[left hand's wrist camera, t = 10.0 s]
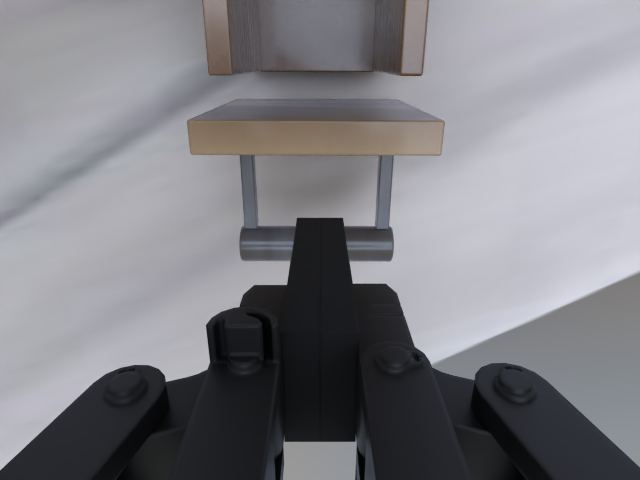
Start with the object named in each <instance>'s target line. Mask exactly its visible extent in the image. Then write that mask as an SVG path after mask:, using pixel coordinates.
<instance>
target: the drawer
mask: <svg viewBox="0 0 640 480" xmlns="http://www.w3.org/2000/svg"><path fill="white" fill-rule="evenodd" d="M202 2H203V13H204V25H205V36H206V48H207V59H208V71H209V75H237V74H244V73H252V72H260V71H310V72H379V73H386V74H393V75H400V76H421V75H422V74H423V66H424V54H425V43H426V31H427V20H428V8H429V0H202ZM444 124H445V122H444V121H443V120H441V119H438V118H436V117H434V116H432V115H430V114H428V113H425V112H423V111H421V110H419V109H417V108H415V107H412V106H410V105H408V104H406V103H404V102H402V101H399V100H345V99H236V100H234V101H232V102H229V103H227V104H225V105H222V106H220V107H218V108H215V109H213V110H211V111H208V112H206V113H203V114H201V115H199V116H196V117H194V118H192V119H189V120H187V126H188V135H189V144H190V153H191V154H192V155H240V165H241V180H242V195H243V210H244V226H243V227H242V228H241V232H240V256H241V259H242V260H243V261H291V256H292V249H293V243H294V236H295V229H296V226H258V207H257V189H256V170H255V155H379V161H378V180H377V198H376V217H375V226H344V229H345V236H346V243H347V249H348V256H349V261H391V260H392V257H393V249H394V239H393V231H392V228H391V227H390V226H389V217H390V202H391V187H392V172H393V157H394V155H434V156H439V155H441V151H442V142H443V133H444Z"/></svg>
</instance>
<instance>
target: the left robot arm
mask: <svg viewBox="0 0 640 480" xmlns="http://www.w3.org/2000/svg"><path fill="white" fill-rule="evenodd" d="M206 329H207V338H208V347H209V355H210V364H209V367H208V370H206V371H204V372H201V373H199V374H197V375H193V376H190V377H187V378H182V379H178V380H173V381H168V382H166V380H165V376H164V374H163V373H162V372H161V371H160V370H159V369H157V368H154V367H151V366H149V365H133V366H128V367H123V368H119V369H117V370H115V371H112V372H110V373H108V374H105V375H104V376H103V377H101V378H100V379H98V380H97V381H96V382H94V383H93V384H92V385H91V386H90V387H89V388H88V389H87V390H86V391H85V392H84V393H82V394H81V395H80V396H79V397H78V398H77V399H76V400H75V401H74V402H73V403H72V404H71V405H70V406H69V407H68V408H66V409H65V410H64V411H63V412H62V413H61V414H60V415H59V416H58V417H57V418H56V419H55V420H54V421H53V422H52V423H50V424H49V425H48V426H47V427H46V428H45V429H44V430H43V431H42V432H41V433H40V434H39V435H38V436H37V437H36V438H34V439H33V440H32V441H31V442H30V443H29V444H28V445H27V446H26V447H25V448H24V449H23V450H22V451H21V452H20V453H18V454H17V455H16V456H15V457H14V458H13V459H12V460H11V461H10V462H9V463H8V464H7V465H6V466H5V467H4V468H2V469H1V470H0V480H283V469H284V453H283V441H284V439H285V442H355V439H357V453H356V476H355V480H640V467H639V466H638V465H636V464H635V463H634V462H633V461H632V460H631V459H630V458H629V457H628V456H627V455H626V454H625V453H624V452H623V451H622V450H620V449H619V448H618V447H617V446H616V445H615V444H614V443H613V442H612V441H611V440H610V439H609V438H608V437H606V436H605V435H604V434H603V433H602V432H601V431H600V430H599V429H598V428H597V427H596V426H595V425H594V424H592V423H591V422H590V421H589V420H588V419H587V418H586V417H585V416H584V415H583V414H582V413H581V412H580V411H579V410H577V409H576V408H575V407H574V406H573V405H572V404H571V403H570V402H569V401H568V400H567V399H566V398H565V397H563V396H562V395H561V394H560V393H559V392H558V391H557V390H556V389H555V388H554V387H553V386H552V385H551V384H549V383H548V382H547V381H546V380H545V379H543V378H542V377H541V376H539V375H538V374H536V373H535V372H533V371H530V370H528V369H526V368H523V367H521V366H517V365H512V364H507V363H492V364H489V365H486V366H484V367H481V368H480V369H479V371H478V372H477V373H476V374H475V380H471V379H466V378H462V377H457V376H453V375H449V374H446V373H443V372H440V371H438V370H436V369H434V368H432V367H431V364H430V361H429V360H428V358H427V357H426V355H425V354H424V353H423V352H421V351H420V350H418V349H417V348H416V347H415V346H414V343H413V341H412V338H411V335H410V332H409V329H408V326H407V323H406V320H405V317H404V316H403V311H402V308H401V306H400V302H399V299H398V296H397V293H396V292H395V291H393V290H392V289H391V288H390V287H389V286H388V285H387V284H353V283H352V276H351V270H350V263H349V256H348V249H347V243H346V236H345V229H344V223H343V218H297V223H296V229H295V236H294V243H293V249H292V256H291V263H290V270H289V276H288V283H287V285H254V286H253V287H252V288H251V289H249V290H248V291H247V292H246V293H245V294H244V295H243V298H242V301H241V304H240V307H238V308H232V309H229V310H226V311H223V312H221V313H219V314H217V315H216V316H214V317H212V318H211V320H210V321H209V322H208V323H207V325H206Z"/></svg>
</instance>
